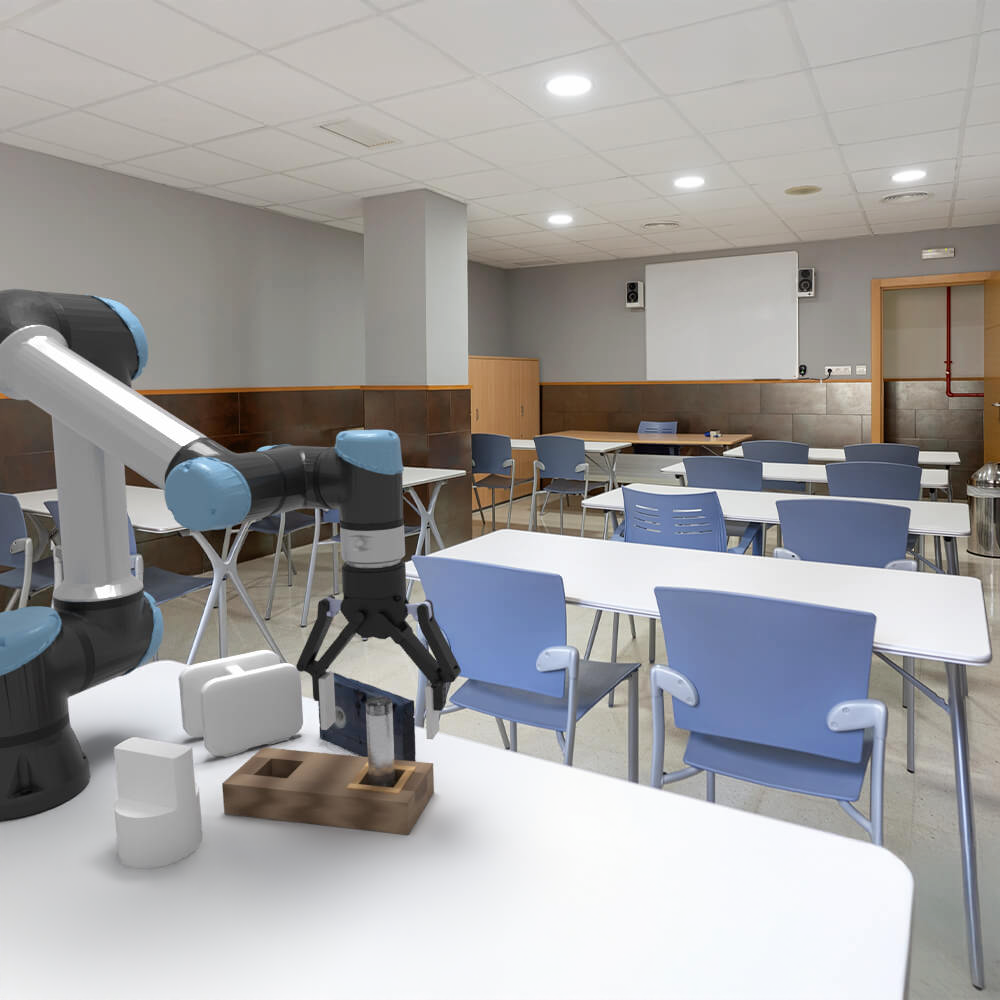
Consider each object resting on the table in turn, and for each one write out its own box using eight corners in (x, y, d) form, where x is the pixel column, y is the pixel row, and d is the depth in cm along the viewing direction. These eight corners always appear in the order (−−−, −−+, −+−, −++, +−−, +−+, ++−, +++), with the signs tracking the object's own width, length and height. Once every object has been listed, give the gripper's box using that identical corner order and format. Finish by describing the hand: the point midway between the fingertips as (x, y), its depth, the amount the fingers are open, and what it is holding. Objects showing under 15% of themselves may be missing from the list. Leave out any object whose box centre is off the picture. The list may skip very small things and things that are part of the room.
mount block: (224, 813, 100) (222, 781, 100) (264, 775, 110) (262, 745, 109) (408, 834, 95) (407, 801, 94) (434, 792, 104) (433, 761, 104)
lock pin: (366, 813, 100) (361, 705, 97) (375, 800, 103) (371, 695, 101) (390, 816, 99) (386, 707, 97) (399, 803, 102) (395, 697, 100)
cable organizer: (202, 765, 113) (196, 686, 111) (182, 739, 121) (176, 665, 120) (304, 737, 121) (300, 663, 120) (279, 714, 130) (275, 644, 128)
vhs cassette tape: (417, 768, 111) (415, 699, 110) (401, 777, 109) (398, 706, 107) (335, 732, 123) (332, 669, 122) (318, 738, 121) (315, 675, 119)
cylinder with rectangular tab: (100, 859, 91) (90, 759, 89) (159, 818, 99) (151, 726, 98) (164, 875, 88) (155, 771, 86) (219, 831, 96) (212, 736, 94)
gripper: (261, 563, 95) (272, 734, 98) (466, 572, 90) (470, 752, 93) (291, 550, 102) (300, 709, 106) (483, 557, 97) (486, 725, 100)
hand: (380, 730), depth 99 cm, fingers open, 13 cm apart
